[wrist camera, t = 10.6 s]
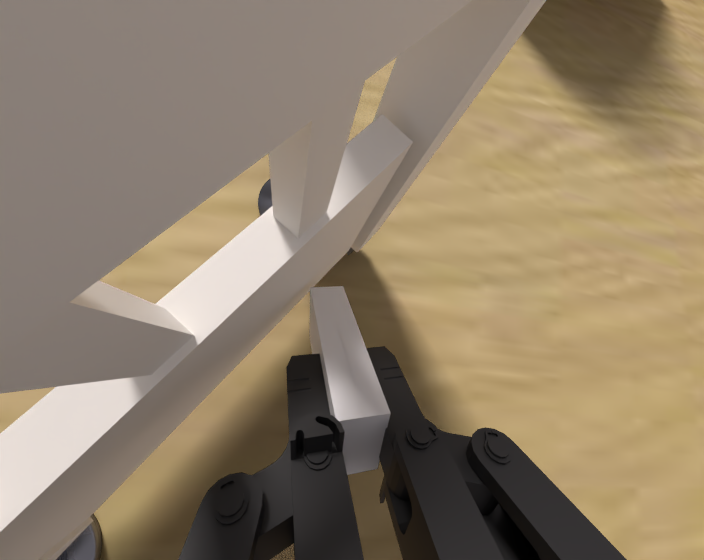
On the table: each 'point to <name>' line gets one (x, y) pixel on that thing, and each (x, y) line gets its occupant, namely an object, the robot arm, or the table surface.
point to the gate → (190, 202)
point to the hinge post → (85, 544)
